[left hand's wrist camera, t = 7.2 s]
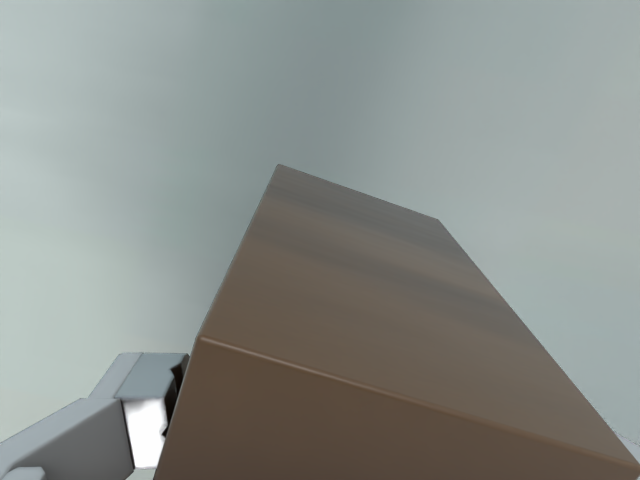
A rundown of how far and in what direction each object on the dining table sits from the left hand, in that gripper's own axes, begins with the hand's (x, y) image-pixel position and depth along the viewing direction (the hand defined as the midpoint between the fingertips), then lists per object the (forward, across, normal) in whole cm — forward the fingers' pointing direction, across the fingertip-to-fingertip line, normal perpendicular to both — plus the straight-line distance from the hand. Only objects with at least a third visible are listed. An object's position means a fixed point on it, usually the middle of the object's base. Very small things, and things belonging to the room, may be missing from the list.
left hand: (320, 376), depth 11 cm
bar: (+4, -3, -8) cm, 9 cm away
